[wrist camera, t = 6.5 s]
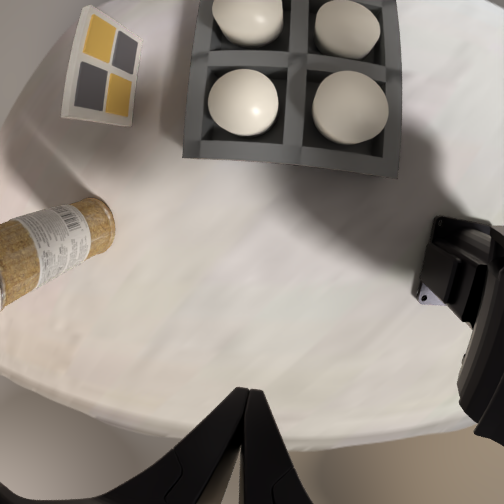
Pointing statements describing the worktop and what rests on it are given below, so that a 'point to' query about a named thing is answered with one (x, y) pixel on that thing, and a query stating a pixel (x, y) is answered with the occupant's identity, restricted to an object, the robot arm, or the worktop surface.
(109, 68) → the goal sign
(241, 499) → the robot arm
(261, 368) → the worktop surface
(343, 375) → the worktop surface
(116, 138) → the worktop surface
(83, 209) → the sprinkles bottle
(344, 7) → the button
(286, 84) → the button board
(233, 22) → the button
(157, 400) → the worktop surface
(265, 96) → the button
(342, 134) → the button
